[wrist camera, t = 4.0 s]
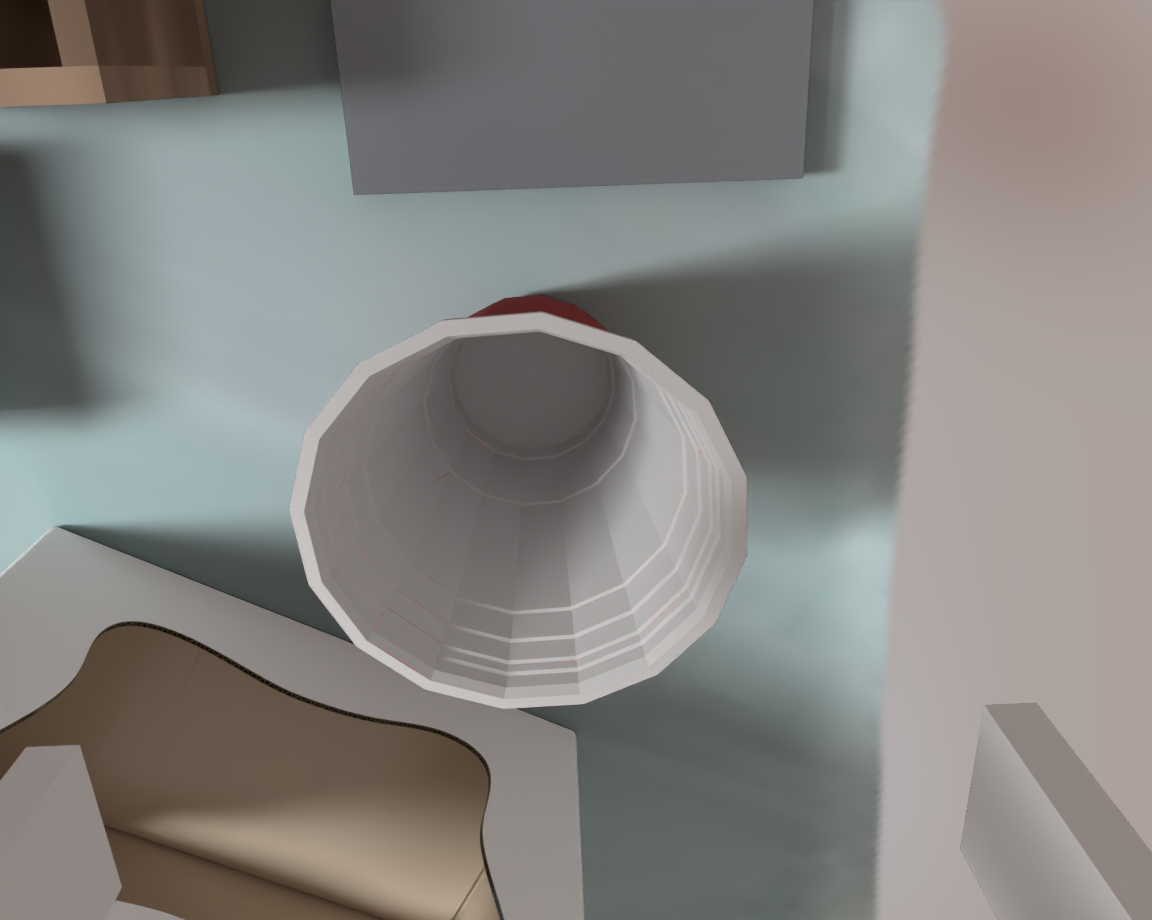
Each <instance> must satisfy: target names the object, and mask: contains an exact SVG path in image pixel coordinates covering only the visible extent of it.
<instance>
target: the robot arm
mask: <svg viewBox="0 0 1152 920" xmlns="http://www.w3.org/2000/svg"><path fill="white" fill-rule="evenodd" d="M960 849H961V851H962V853H963V855H964V857H965V859H966V861H967V862H968V864H969V866H970V868H971V870H972V872H973V874H974V876H975V878H976V879H977V881H978V883H979V885H980V887H981V889H982V891H983V893H984V894H985V896H986V898H987V900H988V902H989V904H990V906H991V908H992V909H993V911H994V913H995V915H996V917H997V919H998V920H1152V852H1151V851H1150V849H1149V848H1148V847H1147V845H1146V844H1145V843H1144V841H1143V840H1142V839H1141V838H1140V836H1139V835H1138V834H1137V832H1136V831H1135V830H1134V828H1133V827H1132V826H1131V825H1130V823H1129V822H1128V821H1127V819H1126V818H1125V817H1124V816H1123V814H1122V813H1121V812H1120V811H1119V809H1118V808H1117V807H1116V805H1115V804H1114V803H1113V801H1112V800H1111V799H1110V797H1109V796H1108V795H1107V794H1106V792H1105V791H1104V790H1103V789H1102V787H1101V786H1100V785H1099V783H1098V782H1097V781H1096V779H1095V778H1094V777H1093V775H1092V774H1091V773H1090V772H1089V770H1088V769H1087V768H1086V766H1085V765H1084V764H1083V763H1082V761H1081V760H1080V759H1079V757H1078V756H1077V755H1076V753H1075V752H1074V751H1073V750H1072V748H1071V747H1070V746H1069V745H1068V743H1067V742H1066V741H1065V739H1064V738H1063V737H1062V735H1061V734H1060V733H1059V731H1058V730H1057V729H1056V728H1055V726H1054V725H1053V724H1052V722H1051V721H1050V720H1049V719H1048V717H1047V716H1046V715H1045V713H1044V712H1043V711H1042V710H1041V708H1040V707H1039V706H1038V704H1037V703H1019V704H998V705H997V704H996V705H984V709H983V715H982V722H981V727H980V733H979V739H978V745H977V751H976V757H975V763H974V769H973V776H972V781H971V787H970V793H969V799H968V806H967V811H966V817H965V823H964V829H963V835H962V841H961V847H960ZM121 888H122V885H121V882H120V879H119V875H118V872H117V869H116V865H115V862H114V859H113V855H112V852H111V848H110V845H109V842H108V838H107V835H106V832H105V828H104V825H103V821H102V818H101V815H100V811H99V808H98V805H97V801H96V798H95V795H94V791H93V788H92V784H91V781H90V778H89V774H88V771H87V768H86V764H85V761H84V757H83V754H82V751H81V747H80V745H63V746H40V747H26V748H25V749H24V751H23V752H22V753H21V755H20V756H19V757H18V758H17V760H16V761H15V762H14V764H13V765H12V766H11V767H10V769H9V770H8V771H7V773H6V774H5V775H4V777H3V778H2V779H1V780H0V920H105V919H106V917H107V915H108V913H109V911H110V909H111V907H112V905H113V903H114V901H115V900H116V898H117V896H118V894H119V892H120V890H121Z"/></svg>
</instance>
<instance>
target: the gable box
mask: <svg viewBox="0 0 1152 920" xmlns="http://www.w3.org/2000/svg"><path fill="white" fill-rule="evenodd" d="M63 745H80V747H81V751H82V754H83V757H84V761H85V764H86V768H87V771H88V774H89V778H90V781H91V784H92V788H93V791H94V795H95V798H96V801H97V805H98V808H99V811H100V815H101V818H102V821H103V825H104V828H105V832H106V835H107V838H108V842H109V845H110V848H111V852H112V855H113V859H114V862H115V865H116V869H117V872H118V875H119V879H120V882H121V885H122V888H121V890H120V892H119V894H118V896H117V898H116V900H115V901H114V903H113V905H112V907H111V909H110V911H109V913H108V915H107V917H106V919H105V920H585V919H584V897H583V874H582V852H581V830H580V808H579V786H578V764H577V741H576V735H575V733H574V731H572V730H569V729H567V728H564V727H562V726H559V725H556V724H554V723H551V722H549V721H546V720H544V719H541V718H539V717H536V716H534V715H531V714H529V713H526V712H524V711H521V710H519V709H516V708H511V709H502V708H497V707H493V706H489V705H485V704H481V703H477V702H473V701H469V700H465V699H461V698H457V697H453V696H449V695H445V694H441V693H437V692H433V691H429V690H425V689H423V688H422V687H420V686H418V685H417V684H415V683H414V682H412V681H410V680H409V679H407V678H406V677H404V676H402V675H401V674H399V673H398V672H396V671H394V670H393V669H391V668H390V667H388V666H386V665H385V664H383V663H382V662H380V661H378V660H377V659H375V658H374V657H372V656H370V655H369V654H367V653H366V652H364V651H362V650H361V649H359V648H358V647H356V645H354V644H352V643H349V642H347V641H344V640H342V639H339V638H337V637H334V636H332V635H329V634H327V633H324V632H322V631H319V630H316V629H314V628H311V627H309V626H306V625H304V624H301V623H299V622H296V621H294V620H291V619H289V618H286V617H284V616H281V615H279V614H276V613H274V612H271V611H268V610H266V609H263V608H261V607H258V606H256V605H253V604H251V603H248V602H246V601H243V600H241V599H238V598H236V597H233V596H231V595H228V594H226V593H223V592H221V591H218V590H215V589H213V588H210V587H208V586H205V585H203V584H200V583H198V582H195V581H193V580H190V579H188V578H185V577H183V576H180V575H178V574H175V573H173V572H170V571H167V570H165V569H162V568H160V567H157V566H155V565H152V564H150V563H147V562H145V561H142V560H140V559H137V558H135V557H132V556H130V555H127V554H125V553H122V552H119V551H117V550H114V549H112V548H109V547H107V546H104V545H102V544H99V543H97V542H94V541H92V540H89V539H87V538H84V537H82V536H79V535H77V534H74V533H71V532H69V531H66V530H64V529H61V528H59V527H55V528H52V529H49V530H48V531H47V532H46V533H45V534H44V535H42V536H41V537H40V538H39V539H38V540H37V541H36V542H35V543H34V544H33V545H32V546H31V547H29V548H28V549H27V550H26V551H25V552H24V553H23V554H22V555H21V556H20V557H19V558H18V559H16V560H15V561H14V562H13V563H12V564H11V565H10V566H9V567H8V568H7V569H6V570H5V571H3V572H2V573H1V574H0V780H1V779H2V778H3V777H4V775H5V774H6V773H7V771H8V770H9V769H10V767H11V766H12V765H13V764H14V762H15V761H16V760H17V758H18V757H19V756H20V755H21V753H22V752H23V751H24V749H25V748H26V747H40V746H63Z"/></svg>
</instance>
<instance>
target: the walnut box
mask: <svg viewBox="0 0 1152 920" xmlns="http://www.w3.org/2000/svg"><path fill="white" fill-rule="evenodd" d="M211 95H219V90H218V84H217V78H216V72H215V66H214V60H213V55H212V49H211V43H210V37H209V31H208V25H207V19H206V13H205V7H204V1H203V0H0V107H16V106H44V105H72V104H100V103H117V102H130V101H143V100H157V99H170V98H184V97H197V96H211Z"/></svg>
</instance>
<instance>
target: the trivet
mask: <svg viewBox="0 0 1152 920" xmlns="http://www.w3.org/2000/svg"><path fill="white" fill-rule="evenodd" d="M330 3H331V11H332V19H333V27H334V36H335V44H336V52H337V60H338V69H339V77H340V85H341V93H342V102H343V110H344V118H345V126H346V135H347V143H348V151H349V159H350V168H351V176H352V184H353V192H354V195H367V194H394V193H421V192H447V191H474V190H501V189H528V188H555V187H582V186H608V185H635V184H662V183H689V182H716V181H743V180H769V179H796V178H803V171H804V154H805V137H806V121H807V104H808V87H809V70H810V54H811V37H812V20H813V3H814V0H330Z"/></svg>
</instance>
